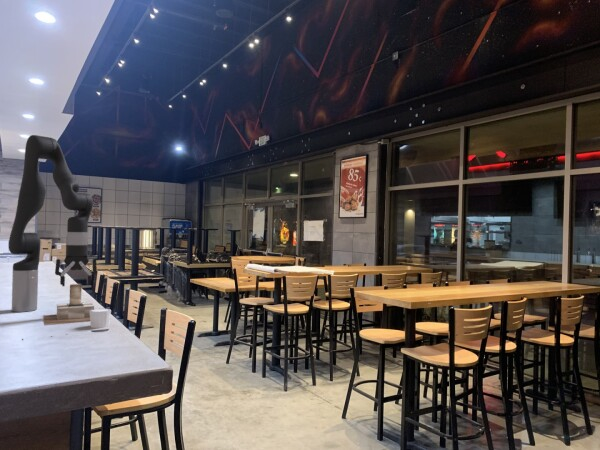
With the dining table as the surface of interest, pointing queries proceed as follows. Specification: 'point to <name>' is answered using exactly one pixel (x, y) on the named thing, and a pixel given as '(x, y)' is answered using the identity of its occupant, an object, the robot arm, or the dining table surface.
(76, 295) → the peg
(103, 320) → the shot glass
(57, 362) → the dining table surface
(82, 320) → the socket board
